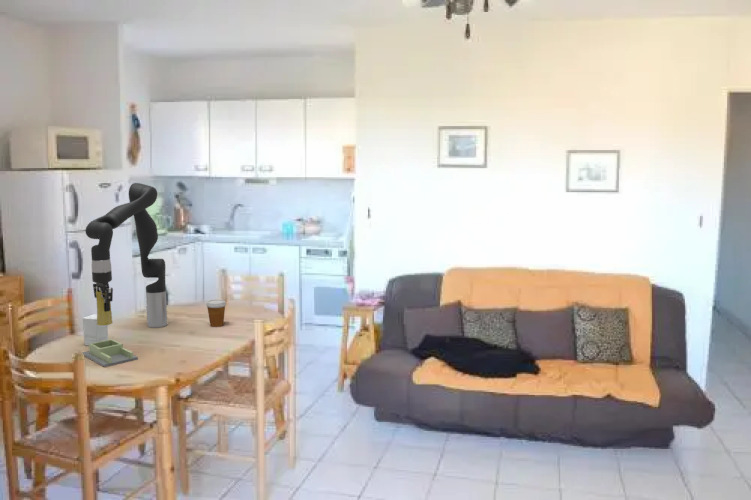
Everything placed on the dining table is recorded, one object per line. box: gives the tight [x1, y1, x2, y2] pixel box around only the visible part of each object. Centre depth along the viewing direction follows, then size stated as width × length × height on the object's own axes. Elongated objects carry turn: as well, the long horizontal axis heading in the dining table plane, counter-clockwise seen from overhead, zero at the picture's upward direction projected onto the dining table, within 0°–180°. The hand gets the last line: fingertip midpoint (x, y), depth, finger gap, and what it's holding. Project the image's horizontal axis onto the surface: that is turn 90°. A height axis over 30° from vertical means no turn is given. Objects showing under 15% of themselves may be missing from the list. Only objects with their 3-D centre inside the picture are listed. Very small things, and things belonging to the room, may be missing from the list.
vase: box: [95, 291, 114, 326], centre depth 276 cm, size 6×6×14 cm
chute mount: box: [81, 338, 139, 368], centre depth 276 cm, size 22×14×5 cm, turn 46°
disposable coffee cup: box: [206, 299, 227, 328], centre depth 325 cm, size 10×10×12 cm
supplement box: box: [82, 313, 109, 347], centre depth 294 cm, size 7×7×13 cm
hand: (104, 309), depth 276 cm, fingers closed on vase, 5 cm apart
